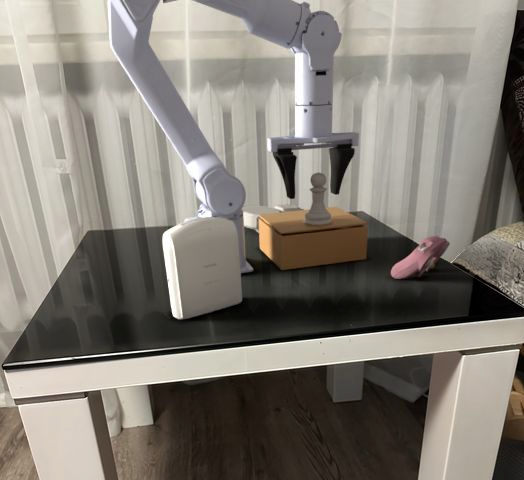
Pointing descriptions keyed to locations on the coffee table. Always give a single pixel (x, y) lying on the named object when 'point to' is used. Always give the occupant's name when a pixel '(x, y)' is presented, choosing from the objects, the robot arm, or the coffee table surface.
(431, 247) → the pink shoe
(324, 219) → the chess piece
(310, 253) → the carton
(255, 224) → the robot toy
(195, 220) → the photo printer
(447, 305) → the coffee table surface
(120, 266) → the coffee table surface
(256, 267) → the coffee table surface
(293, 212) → the flap
